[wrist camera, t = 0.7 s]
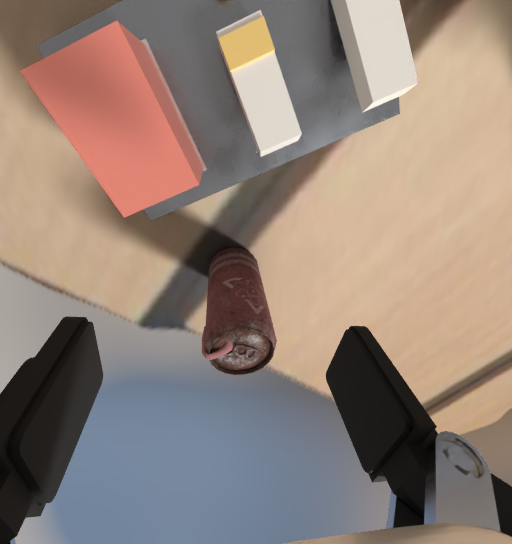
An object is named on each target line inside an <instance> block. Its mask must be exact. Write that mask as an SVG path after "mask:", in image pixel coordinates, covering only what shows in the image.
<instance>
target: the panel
mask: <svg viewBox="0 0 512 544" xmlns="http://www.w3.org/2000/svg"><path fill="white" fill-rule="evenodd" d="M259 10H261V13H262V16H264V18H265V21H266V24H267V27H268V30H269V33H270V36H271V39H272V42H273V45H274V48H275V55H276V58H277V61H278V64H279V67H280V70H281V73H282V76H283V79H284V82H285V85H286V88H287V91H288V94H289V97H290V100H291V103H292V106H293V109H294V112H295V115H296V118H297V121H298V124H299V127H300V130H301V133H302V134H301V136H300V138H299V140H298V141H296V142H294V143H292V144H289V145H287V146H285V147H283V148H280V149H278V150H276V151H273V152H271V153H269V154H267V155H264V156H262V157H260V155H259V152H258V149H257V147H256V144H255V141H254V139H253V136H252V133H251V131H250V128H249V125H248V123H247V120H246V117H245V115H244V112H243V109H242V107H241V104H240V101H239V99H238V96H237V93H236V91H235V88H234V85H233V83H232V80H231V77H230V75H229V72H228V69H227V66H226V64H225V61H224V58H223V56H222V53H221V50H220V47H219V43H218V38H217V34H216V32H217V31H219V30H221V29H223V28H225V27H227V26H229V25H231V24H233V23H235V22H237V21H239V20H241V19H243V18H245V17H247V16H249V15H251V14H253V13H255V12H257V11H259ZM115 21H118V22H119V23H121V24H122V25H123V26H124V27H125V28H126V29H128V30H129V31H130V32H131V33H132V34H133V35H135V36H136V37H137V38H138V39H139V40H140V41H142V42H143V43H144V44H145V45H146V47H147V49H148V51H149V53H150V55H151V58H152V60H153V62H154V64H155V66H156V68H157V70H158V72H159V74H160V77H161V79H162V81H163V83H164V85H165V87H166V89H167V91H168V93H169V96H170V98H171V100H172V102H173V104H174V106H175V108H176V110H177V113H178V115H179V117H180V119H181V121H182V123H183V125H184V127H185V129H186V132H187V134H188V136H189V138H190V140H191V142H192V144H193V146H194V148H195V151H196V153H197V155H198V157H199V159H200V161H201V163H202V165H203V167H204V168H203V172H202V176H201V180H200V184H199V185H198V186H196V187H193V188H191V189H189V190H187V191H184V192H182V193H180V194H177V195H175V196H173V197H170V198H168V199H166V200H164V201H161V202H159V203H157V204H154V205H152V206H150V207H148V208H145V209H143V210H144V211H145V213H146V214H147V216H148V217H149V219H150V220H151V221H152V220H154V219H156V218H159V217H161V216H163V215H166V214H168V213H170V212H173V211H175V210H177V209H179V208H182V207H184V206H186V205H189V204H191V203H193V202H196V201H198V200H200V199H203V198H205V197H207V196H210V195H212V194H214V193H217V192H219V191H221V190H224V189H226V188H228V187H231V186H233V185H235V184H238V183H240V182H242V181H244V180H247V179H249V178H251V177H254V176H256V175H258V174H261V173H263V172H265V171H268V170H270V169H272V168H275V167H277V166H279V165H282V164H284V163H286V162H289V161H291V160H293V159H296V158H298V157H300V156H302V155H305V154H307V153H309V152H312V151H314V150H316V149H319V148H321V147H323V146H326V145H328V144H330V143H333V142H335V141H337V140H340V139H342V138H344V137H347V136H349V135H351V134H354V133H356V132H358V131H360V130H363V129H365V128H367V127H370V126H372V125H374V124H377V123H379V122H381V121H384V120H386V119H388V118H391V117H393V116H395V115H398V114H400V110H399V97H397V98H395V99H392V100H390V101H388V102H385V103H383V104H381V105H379V106H376V107H374V108H372V109H369V110H367V111H365V112H363V113H362V110H361V107H360V103H359V100H358V96H357V92H356V89H355V85H354V82H353V78H352V75H351V71H350V67H349V64H348V60H347V57H346V53H345V50H344V46H343V42H342V39H341V35H340V32H339V28H338V25H337V21H336V17H335V14H334V10H333V7H332V3H331V0H122V1H120V2H118V3H116V4H114V5H112V6H110V7H109V8H107V9H105V10H103V11H101V12H99V13H97V14H95V15H93V16H92V17H90V18H88V19H86V20H84V21H82V22H80V23H78V24H76V25H74V26H73V27H71V28H69V29H67V30H65V31H63V32H61V33H59V34H57V35H56V36H54V37H52V38H50V39H48V40H46V41H44V42H42V43H40V44H39V45H37V46H36V47H37V48H38V50H39V51H40V53H41V54H42V56H43V57H44V58H46V57H48V56H50V55H51V54H53V53H55V52H57V51H59V50H61V49H63V48H65V47H67V46H69V45H71V44H73V43H74V42H76V41H78V40H80V39H82V38H84V37H86V36H88V35H90V34H92V33H94V32H96V31H98V30H99V29H101V28H103V27H105V26H107V25H109V24H111V23H113V22H115Z"/></svg>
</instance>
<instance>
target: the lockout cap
mask: <svg viewBox="0 0 512 544" xmlns="http://www.w3.org/2000/svg"><path fill="white" fill-rule="evenodd" d="M20 73H21V74H22V75H23V77H24V78H25V80H26V81H27V82H28V84H29V85H30V87H31V88H32V89H33V91H34V92H35V94H36V95H37V97H38V98H39V99H40V101H41V102H42V104H43V105H44V106H45V108H46V109H47V111H48V112H49V113H50V115H51V116H52V118H53V119H54V120H55V122H56V123H57V125H58V126H59V127H60V129H61V130H62V132H63V133H64V134H65V136H66V137H67V139H68V140H69V141H70V143H71V144H72V146H73V147H74V148H75V150H76V151H77V153H78V154H79V155H80V157H81V158H82V160H83V161H84V162H85V164H86V165H87V167H88V168H89V169H90V171H91V172H92V174H93V175H94V176H95V178H96V179H97V181H98V182H99V183H100V185H101V186H102V188H103V189H104V190H105V192H106V193H107V195H108V196H109V197H110V199H111V200H112V202H113V203H114V204H115V206H116V207H117V209H118V210H119V211H120V213H121V214H122V216H123V217H124V218H125V217H127V216H129V215H132V214H134V213H136V212H138V211H141V210H143V209H145V208H148V207H150V206H152V205H154V204H157V203H159V202H161V201H164V200H166V199H168V198H170V197H173V196H175V195H177V194H180V193H182V192H184V191H187V190H189V189H191V188H193V187H196V186H198V185H199V184H200V180H201V176H202V172H203V168H204V167H203V165H202V163H201V161H200V159H199V157H198V155H197V153H196V151H195V148H194V146H193V144H192V142H191V140H190V138H189V136H188V134H187V132H186V129H185V127H184V125H183V123H182V121H181V119H180V117H179V115H178V113H177V110H176V108H175V106H174V104H173V102H172V100H171V98H170V96H169V93H168V91H167V89H166V87H165V85H164V83H163V81H162V79H161V77H160V74H159V72H158V70H157V68H156V66H155V64H154V62H153V60H152V58H151V55H150V53H149V51H148V49H147V47H146V45H145V44H144V43H143V42H142V41H140V40H139V39H138V38H137V37H136V36H135V35H133V34H132V33H131V32H130V31H129V30H128V29H126V28H125V27H124V26H123V25H122V24H121V23H119V22H118V21H115V22H113V23H111V24H109V25H107V26H105V27H103V28H101V29H99V30H98V31H96V32H94V33H92V34H90V35H88V36H86V37H84V38H82V39H80V40H78V41H76V42H74V43H73V44H71V45H69V46H67V47H65V48H63V49H61V50H59V51H57V52H55V53H53V54H51V55H50V56H48V57H46V58H44V59H42V60H40V61H38V62H36V63H34V64H32V65H30V66H28V67H26V68H25V69H23V70H21V71H20Z"/></svg>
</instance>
